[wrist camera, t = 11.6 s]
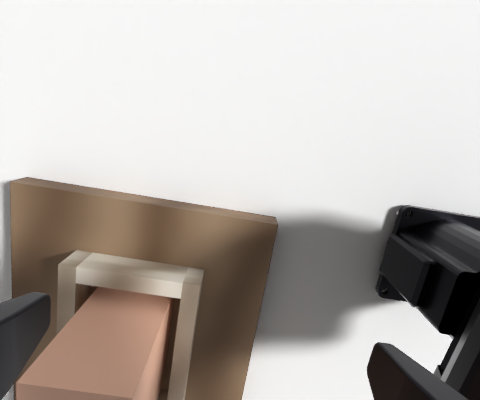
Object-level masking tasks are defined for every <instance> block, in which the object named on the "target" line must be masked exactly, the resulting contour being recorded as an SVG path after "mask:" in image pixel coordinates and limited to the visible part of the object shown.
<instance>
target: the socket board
mask: <svg viewBox="0 0 480 400" xmlns="http://www.w3.org/2000/svg"><path fill="white" fill-rule="evenodd" d="M10 206H11V263H12V299H14V298H17V297H20V296H23V295H25V294H28V293H31V292H39V293H46V294H49V295H50V297H51V321H50V325H49V328H48V330H47V332H46V333H45V335H44V336H43V338H42V340H41V341H40V343H39V344H38V346H37V348H36V349H35V351H34V352H33V354H32V356H31V357H30V359H29V360H28V362H27V363H26V365H25V367H24V368H23V370H22V371H21V373H20V375H19V376H18V378H17V379H16V381H15V382H14V400H16V382H17V381H18V380H19V379H20V378H21V376H22V375H23V374H24V373H25V372H26V371H27V369H28V368H29V367H30V366H31V365H32V364H33V362H34V361H35V360H36V359H37V358H38V357H39V355H40V354H41V353H42V352H43V351H44V350H45V348H46V347H47V346H48V345H49V344H50V343H51V341H52V340H53V339H54V338H55V337H56V336H57V334H58V333H59V332H60V331H61V330H62V329H63V327H64V326H65V325H66V324H67V323H68V322H69V320H70V319H71V318H72V317H73V316H74V315H75V313H76V312H77V311H78V310H79V309H80V308H81V306H82V305H83V304H84V303H85V302H86V301H87V299H88V298H89V297H90V296H91V295H92V293H93V292H94V291H95V290H96V289H97V288H98V287H105V288H112V289H118V290H125V291H132V292H138V293H145V294H152V295H159V296H165V297H172V298H174V299H173V307H172V315H171V323H170V331H169V339H168V347H167V355H166V363H165V372H164V379H163V383H162V386H161V389H160V393H159V396H158V399H157V400H242V395H243V390H244V385H245V381H246V376H247V371H248V366H249V361H250V357H251V352H252V347H253V342H254V337H255V333H256V328H257V323H258V318H259V313H260V309H261V304H262V299H263V294H264V289H265V285H266V280H267V275H268V270H269V265H270V261H271V256H272V251H273V246H274V241H275V237H276V232H277V227H278V223H277V220H276V218H275V217H271V216H265V215H259V214H253V213H247V212H240V211H234V210H228V209H222V208H215V207H209V206H203V205H197V204H191V203H184V202H178V201H172V200H166V199H160V198H153V197H147V196H141V195H135V194H129V193H122V192H116V191H110V190H104V189H97V188H91V187H85V186H79V185H73V184H66V183H60V182H54V181H48V180H42V179H35V178H29V177H26V178H22V179H18V180H15V181H11V182H10Z"/></svg>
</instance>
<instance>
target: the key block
mask: <svg viewBox="0 0 480 400" xmlns="http://www.w3.org/2000/svg"><path fill="white" fill-rule="evenodd" d="M173 299H174V298H172V297H165V296H159V295H152V294H145V293H138V292H132V291H125V290H118V289H112V288H105V287H98V288H97V289H96V290H95V291H94V292H93V293H92V295H91V296H90V297H89V298H88V299H87V301H86V302H85V303H84V304H83V305H82V306H81V308H80V309H79V310H78V311H77V312H76V313H75V315H74V316H73V317H72V318H71V319H70V320H69V322H68V323H67V324H66V325H65V326H64V327H63V329H62V330H61V331H60V332H59V333H58V334H57V336H56V337H55V338H54V339H53V340H52V341H51V343H50V344H49V345H48V346H47V347H46V348H45V350H44V351H43V352H42V353H41V354H40V355H39V357H38V358H37V359H36V360H35V361H34V362H33V364H32V365H31V366H30V367H29V368H28V369H27V371H26V372H25V373H24V374H23V375H22V376H21V378H20V379H19V380H18V381H17V382H16V400H157V399H158V396H159V393H160V389H161V386H162V383H163V379H164V372H165V363H166V355H167V347H168V339H169V331H170V323H171V315H172V307H173Z"/></svg>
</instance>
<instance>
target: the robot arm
mask: <svg viewBox="0 0 480 400" xmlns="http://www.w3.org/2000/svg"><path fill="white" fill-rule="evenodd" d="M408 211H411V214H410V215H409V216H406V213H407V212H408ZM384 288H387V289H386V291H384V292H382V290H383V289H384ZM376 292H377V293H378V295H379V296H380V297H382V298H387V299H393V300H400V301H406V302H408V303H409V304H410V305H411V306H413V307H416V308H417V309H418V310H419V311H420V312H421V313H422V314H423V315H424V317H425V318H426V319H427V320H428V321H429V322H430V323H431V324H432V325H433V326H434V327H435V328H436V329H437V330H438V331H439V332H440V333H442V334H448V335H449V336H450V337H451V338H452V339H453V340H452V342H451V344H450V346H449V349H448V351H447V353H446V355H445V357H444V359H443V361H442V363H441V365H438V366H437V368H436V370H435V372H434V374H432V373H431V372H429V371H428V370H427V369H425V368H424V367H422V366H421V365H420V364H418V363H417V362H416V361H414V360H413V359H411V358H410V357H409V356H407V355H406V354H404V353H403V352H402V351H400V350H399V349H398V348H396V347H395V346H393V345H391V344H387V343H380V342H378V343H376V344H375V345H374V347H373V350H372V354H371V357H370V360H369V363H368V366H367V375H368V379H369V383H370V386H371V390H372V394H373V397H374V400H480V217H477V216H471V215H464V214H458V213H452V212H446V211H440V210H434V209H428V208H422V207H416V206H410V205H406V206H403V207H402V208H401V209H400V211H399V214H398V217H397V220H396V224H395V227H394V230H393V233H392V235H391V236H390V237H389V240H388V243H387V246H386V250H385V253H384V256H383V259H382V263H381V266H380V276H379V279H378V282H377V285H376ZM50 321H51V297H50V295H49V294H46V293H39V292H31V293H28V294H25V295H23V296H20V297H17V298H14V299H11V300H8V301H5V302H2V303H0V400H2V398H3V397H4V396H5V395H6V393H7V392H8V390H9V389H10V388H11V386H12V385H13V384H14V382H15V381H16V379H17V378H18V376H19V375H20V373H21V371H22V370H23V368H24V367H25V365H26V363H27V362H28V360H29V359H30V357H31V356H32V354H33V352H34V351H35V349H36V348H37V346H38V344H39V343H40V341H41V340H42V338H43V336H44V335H45V333H46V332H47V330H48V328H49V325H50Z"/></svg>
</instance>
